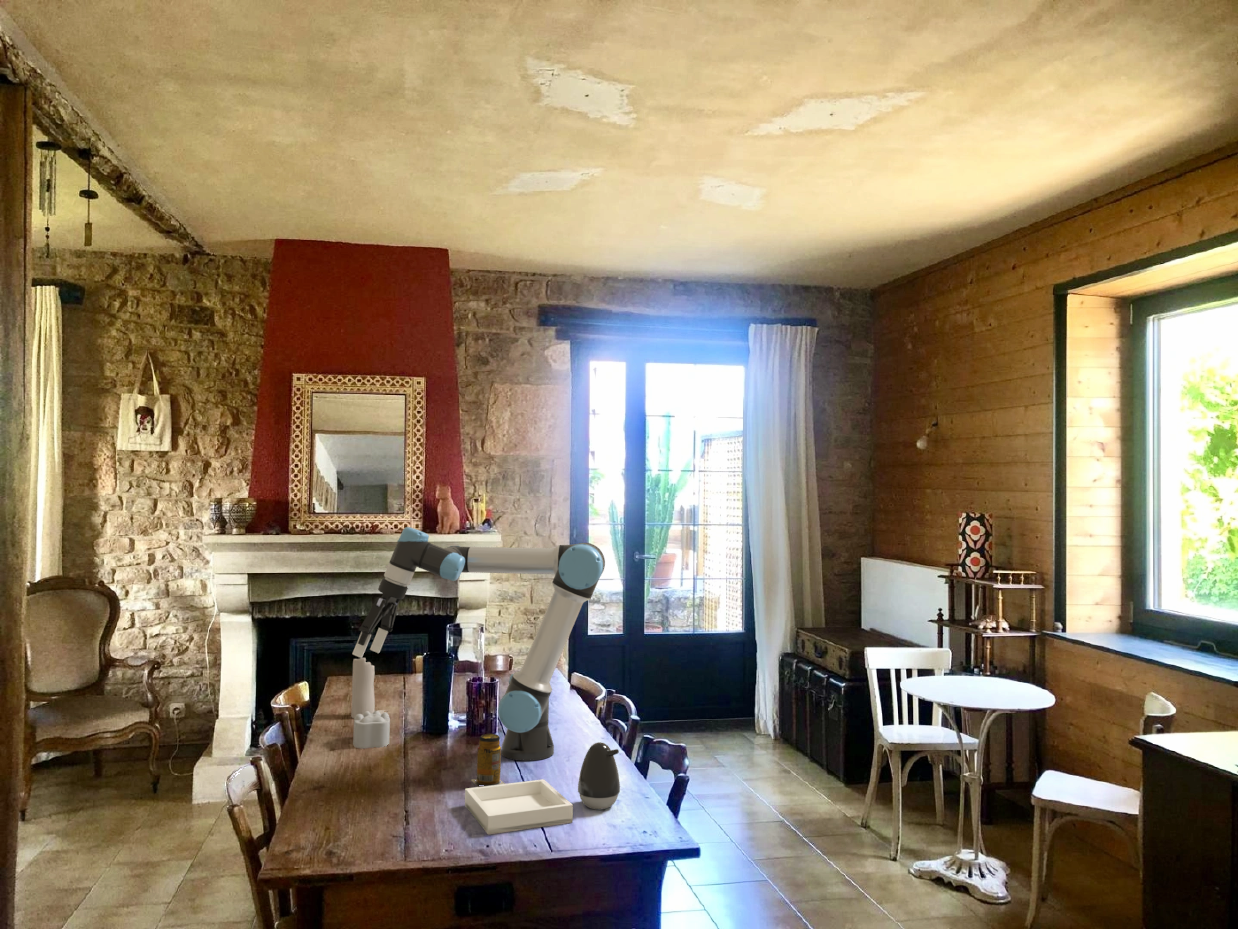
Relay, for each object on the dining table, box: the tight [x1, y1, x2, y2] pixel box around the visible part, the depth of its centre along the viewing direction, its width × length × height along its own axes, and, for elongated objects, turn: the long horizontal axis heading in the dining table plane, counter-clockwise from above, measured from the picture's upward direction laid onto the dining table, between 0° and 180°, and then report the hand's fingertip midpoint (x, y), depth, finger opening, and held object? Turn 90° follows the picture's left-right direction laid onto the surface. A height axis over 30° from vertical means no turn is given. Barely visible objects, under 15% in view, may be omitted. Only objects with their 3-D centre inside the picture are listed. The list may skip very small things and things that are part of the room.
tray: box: [464, 779, 574, 836], centre depth 210 cm, size 20×20×4 cm
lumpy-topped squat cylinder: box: [352, 710, 391, 749], centre depth 268 cm, size 10×13×9 cm
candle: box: [350, 657, 387, 719], centre depth 302 cm, size 7×14×20 cm, turn 148°
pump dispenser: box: [577, 742, 621, 810], centre depth 217 cm, size 10×10×15 cm
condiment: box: [470, 733, 506, 787], centre depth 232 cm, size 7×8×12 cm
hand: (366, 653), depth 247 cm, fingers open, 13 cm apart
